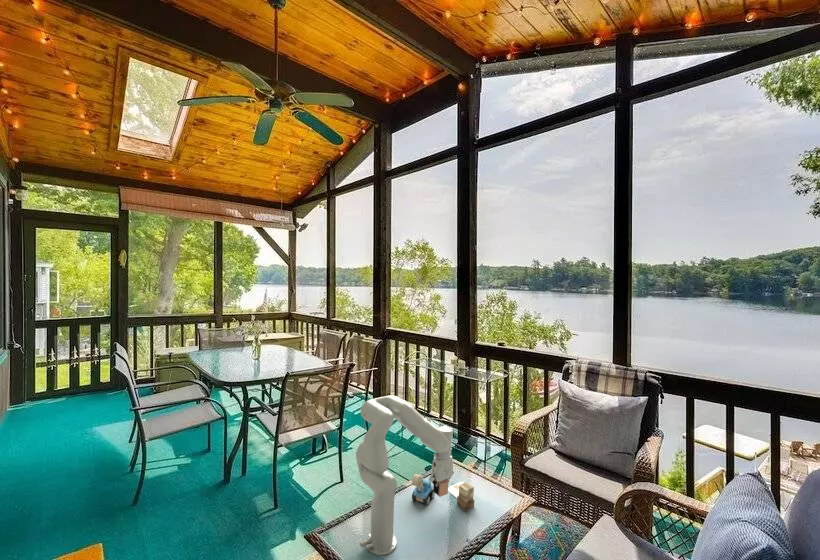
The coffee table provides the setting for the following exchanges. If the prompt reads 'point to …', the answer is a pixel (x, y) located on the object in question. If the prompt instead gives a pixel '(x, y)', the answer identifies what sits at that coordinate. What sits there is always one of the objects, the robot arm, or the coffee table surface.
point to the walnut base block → (465, 504)
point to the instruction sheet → (455, 489)
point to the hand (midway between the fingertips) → (440, 490)
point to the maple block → (466, 492)
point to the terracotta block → (442, 487)
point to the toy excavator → (422, 489)
